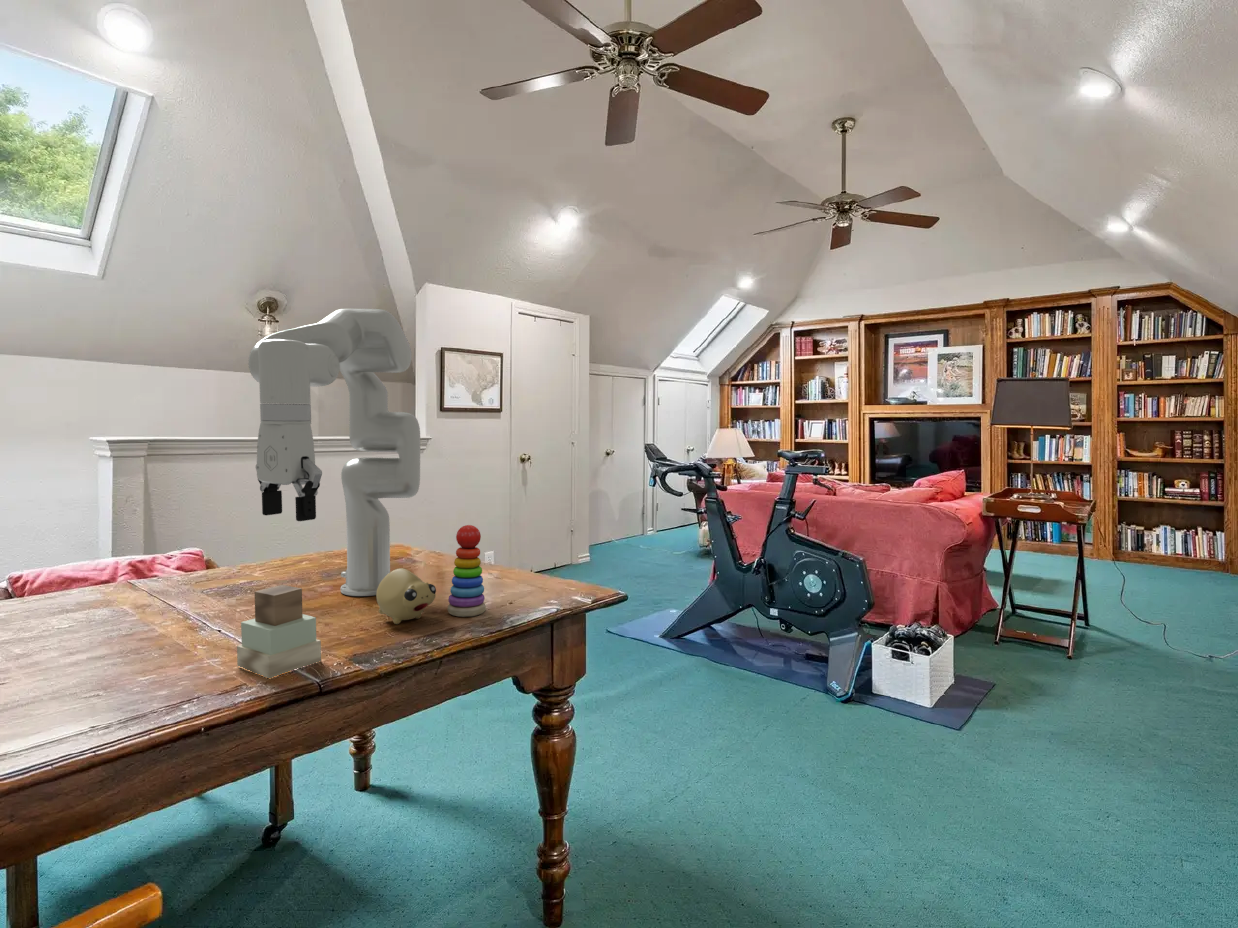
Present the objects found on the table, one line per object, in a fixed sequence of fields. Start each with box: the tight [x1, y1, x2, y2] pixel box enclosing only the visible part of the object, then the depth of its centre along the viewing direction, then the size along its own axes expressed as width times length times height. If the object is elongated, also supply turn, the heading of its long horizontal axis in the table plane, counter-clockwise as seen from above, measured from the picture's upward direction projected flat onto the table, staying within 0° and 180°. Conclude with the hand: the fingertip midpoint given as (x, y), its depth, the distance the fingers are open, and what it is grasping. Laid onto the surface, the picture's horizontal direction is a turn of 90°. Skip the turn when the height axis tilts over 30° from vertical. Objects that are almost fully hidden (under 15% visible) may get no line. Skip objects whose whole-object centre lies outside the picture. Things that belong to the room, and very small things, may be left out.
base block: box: [236, 638, 322, 679], centre depth 108 cm, size 9×9×4 cm
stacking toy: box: [447, 524, 487, 618], centre depth 138 cm, size 8×8×19 cm
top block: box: [240, 613, 317, 655], centre depth 108 cm, size 8×8×4 cm
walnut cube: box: [254, 584, 304, 626], centre depth 108 cm, size 5×5×5 cm
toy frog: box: [375, 567, 437, 625], centre depth 132 cm, size 10×12×11 cm
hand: (288, 517), depth 109 cm, fingers open, 9 cm apart
